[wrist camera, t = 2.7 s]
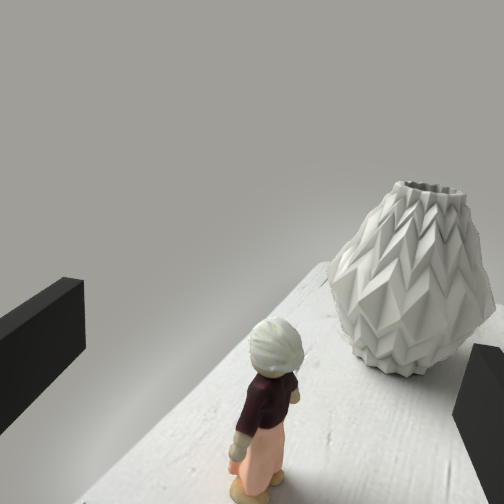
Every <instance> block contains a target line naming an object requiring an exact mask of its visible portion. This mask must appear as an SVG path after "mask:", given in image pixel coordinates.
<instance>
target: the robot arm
mask: <svg viewBox="0 0 504 504" xmlns="http://www.w3.org/2000/svg"><path fill="white" fill-rule="evenodd" d="M85 349H86V336H85V304H84V280H79V279H73V278H67V277H62V278H61V279H59V280H58V281H56V282H55V283H53V284H52V285H51V286H49V287H47V288H46V289H44V290H43V291H41V292H40V293H38V294H37V295H35V296H33V297H32V298H30V299H29V300H27V301H26V302H24V303H23V304H21V305H20V306H18V307H17V308H15V309H14V310H12V311H11V312H9V313H8V314H6V315H4V316H3V317H1V318H0V435H1V434H2V433H3V432H4V431H5V430H6V429H7V428H8V427H9V426H10V425H11V424H12V423H13V422H14V421H15V420H16V419H17V418H18V417H19V416H20V415H21V414H22V413H23V412H24V411H25V409H27V408H28V406H30V405H31V403H33V401H35V399H36V398H37V397H38V396H39V395H40V394H41V393H42V392H43V391H44V390H45V389H46V388H47V387H48V386H49V385H50V384H51V383H52V382H53V381H54V380H55V379H56V378H57V377H58V376H59V375H60V374H61V373H62V372H63V371H64V370H65V369H66V368H67V367H68V366H69V365H70V364H71V363H72V362H73V361H74V360H75V358H77V357H78V356H79V355H80V354H81V353H82V352H83V351H84V350H85ZM452 416H453V418H454V420H455V423H456V425H457V428H458V430H459V433H460V435H461V437H462V440H463V442H464V445H465V447H466V449H467V452H468V454H469V457H470V459H471V462H472V464H473V466H474V469H475V471H476V474H477V476H478V479H479V481H480V483H481V486H482V488H483V491H484V493H485V496H486V498H487V500H488V503H489V504H504V353H503V352H502V350H501V349H500V348H499V347H494V346H488V345H482V344H475V343H474V345H473V348H472V351H471V354H470V358H469V361H468V364H467V367H466V371H465V374H464V377H463V380H462V384H461V387H460V390H459V393H458V397H457V400H456V403H455V406H454V410H453V413H452Z"/></svg>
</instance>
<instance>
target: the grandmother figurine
mask: <svg viewBox="0 0 504 504" xmlns="http://www.w3.org/2000/svg"><path fill="white" fill-rule="evenodd" d="M248 341H249V346H250V349H249V352H250V354H251V362H252V365H253V367H254V369H255V370H256V371H257V372H258V373H257V375H256V377H255V378H254V379H253V381H252V382H251V383H250V385H249V387H248V390H247V398H246V402H245V404H244V408H243V410H242V413H241V416H240V418H239V420H238V422H237V425H236V432H235V435H234V438H233V444H232V445H231V447H230V449H229V457H230V464H229V468H228V471H229V473H230V474H233V475H235V474H236V475H238V476H237V478H236V479H235V480H234V481H233V483H232V485H231V487H230V496H231V498H232V499H233V500H234V501H235V502H237V503H239V504H269V501H270V494H269V492H268V491H267V490H266V489H267V487H268V485H271V486H277V485H279V484H280V483H281V482H282V481H283V480H284V472H283V471H282V469H281V467H282V462H283V452H284V441H285V433H284V427H283V422H284V419H285V417H286V415H287V413H288V407H289V403H291V404H296V403H298V402H299V400H300V393H299V389H298V381H297V378H296V377H295V375H294V373H293V371H294V370H296V369H297V368H298V367H299V366H300V365H301V364H302V362H303V359H304V351H303V348H302V341H301V337H300V335H299V333H298V332H297V330H296V329H294V328H293V327H292V326H291V325H290V324H289V323H288V322H287V321H286V320H284V319H282V318H278V317H277V318H274V317H271V318H267V319H265V320H263V321H261V322H260V323H258V324H257V325H256V326H255V327H253V330H252V331H251V333H250V337H249V340H248Z"/></svg>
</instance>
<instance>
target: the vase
mask: <svg viewBox="0 0 504 504" xmlns="http://www.w3.org/2000/svg"><path fill="white" fill-rule="evenodd" d="M466 196H467V195H466V193H463V191H460V190H454V188H452V187H443V186H441V185H439V184H433V185H430V184H428V183H425V182H419V183H416V182H413V181H410V180H409V181H408V182H404V181H399V182H396V183H395V186H394V188H393V190H392V192H390V193H388V194H386V195H385V197H384V199H383V201H382V202H381V204H380V205H379V206H377V207H376V208H375V209H374V210H372V211H371V212H370V213H369V214H368V215H367V217H366V219H365V220H364V222H363V223H362V225H361V227H360V229H359V230H358V232H357V233H356V235H355V237H354V238H353V239H351V240H350V241H349V242H347V243H346V244H345V245H344V246H343V248H342V249H341V250H340V252H339V253H338V254H337V256H336V257H335V258H334V260H333V261H332V262H331V263H330V265H329V266H328V267H327V269H326V272H327V276H328V279H329V283H330V287H331V291H332V295H333V299H334V301H335V305H336V310H337V313H338V317H339V320H340V323H341V327H342V330H343V332H345V333H346V334H347V335H348V336H349V344H350V345H351V346H353V355H356V356H358V357H361V358H363V360H364V362H365V365H367V366H374V367H378V368H379V369H380V370H382V371H383V372H384V373H385V374H389V373H395V372H396V373H398V374H400V375H402V376H404V377H409V376H410V375H411V374H412V373H416V374H421V375H424V374H425V372H426V370H427V369H428V368H431V367H432V366H433V364H435V363H437V362H438V361H441V360H447V359H448V358H449V357H450V356H451V355H452V354H453V353H454V352H455V351H456V350H457V349H458V348H459V347H460V346H461V345H462V344H463V343H464V342H465V341H466V339H467V338H468V337H470V336H471V335H472V334H473V333H474V332H475V331H476V330H477V329H478V328H479V327H480V326H481V325H482V324H483V323H484V322H485V321H486V320H487V319H488V318H489V317H490V316H491V315H492V314H493V312H494V311H495V310H496V307H495V303H494V299H493V295H492V291H491V287H490V283H489V279H488V275H487V273H486V271H485V270H484V268H483V265H482V256H481V248H480V237H479V233H478V231H477V230H476V228H475V226H474V224H473V222H472V221H471V212H470V208H469V207H468V206H467V205H466Z"/></svg>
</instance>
